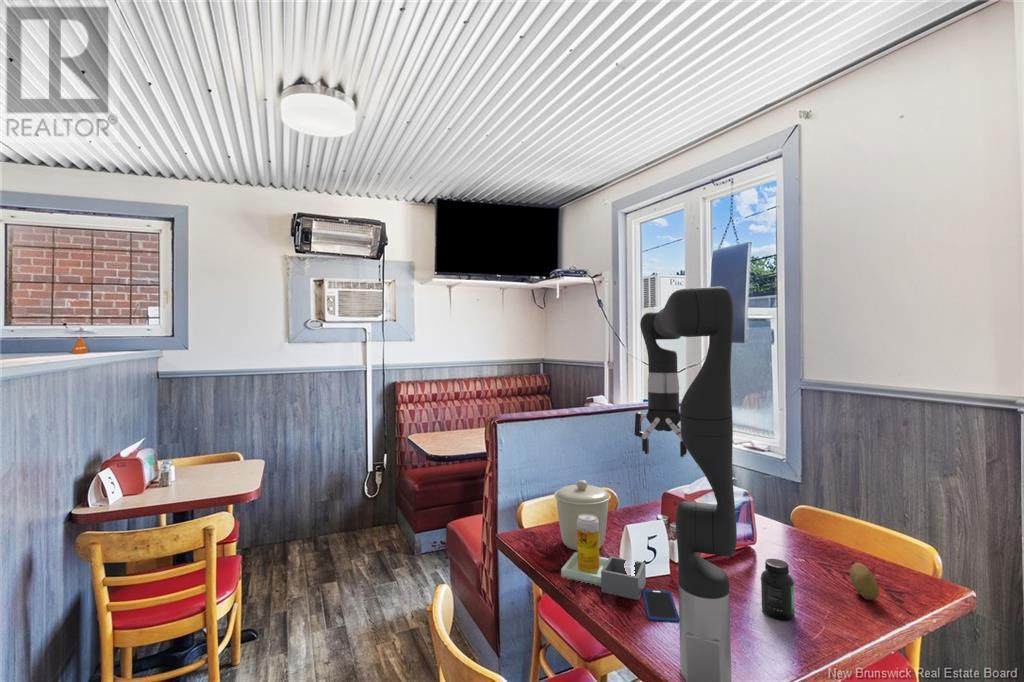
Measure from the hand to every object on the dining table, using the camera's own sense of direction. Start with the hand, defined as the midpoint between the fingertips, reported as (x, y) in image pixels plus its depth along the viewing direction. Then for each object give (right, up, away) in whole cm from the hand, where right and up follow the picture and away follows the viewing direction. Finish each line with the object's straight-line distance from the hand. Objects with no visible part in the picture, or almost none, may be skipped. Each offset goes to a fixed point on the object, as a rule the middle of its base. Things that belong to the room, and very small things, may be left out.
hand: (664, 454), depth 119 cm
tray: (-17, -37, +15) cm, 43 cm away
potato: (+50, -36, 0) cm, 62 cm away
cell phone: (-2, -37, -2) cm, 37 cm away
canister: (-16, -38, +33) cm, 53 cm away
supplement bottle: (+25, -36, -7) cm, 45 cm away
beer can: (-17, -37, +15) cm, 43 cm away
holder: (-9, -37, +7) cm, 39 cm away
